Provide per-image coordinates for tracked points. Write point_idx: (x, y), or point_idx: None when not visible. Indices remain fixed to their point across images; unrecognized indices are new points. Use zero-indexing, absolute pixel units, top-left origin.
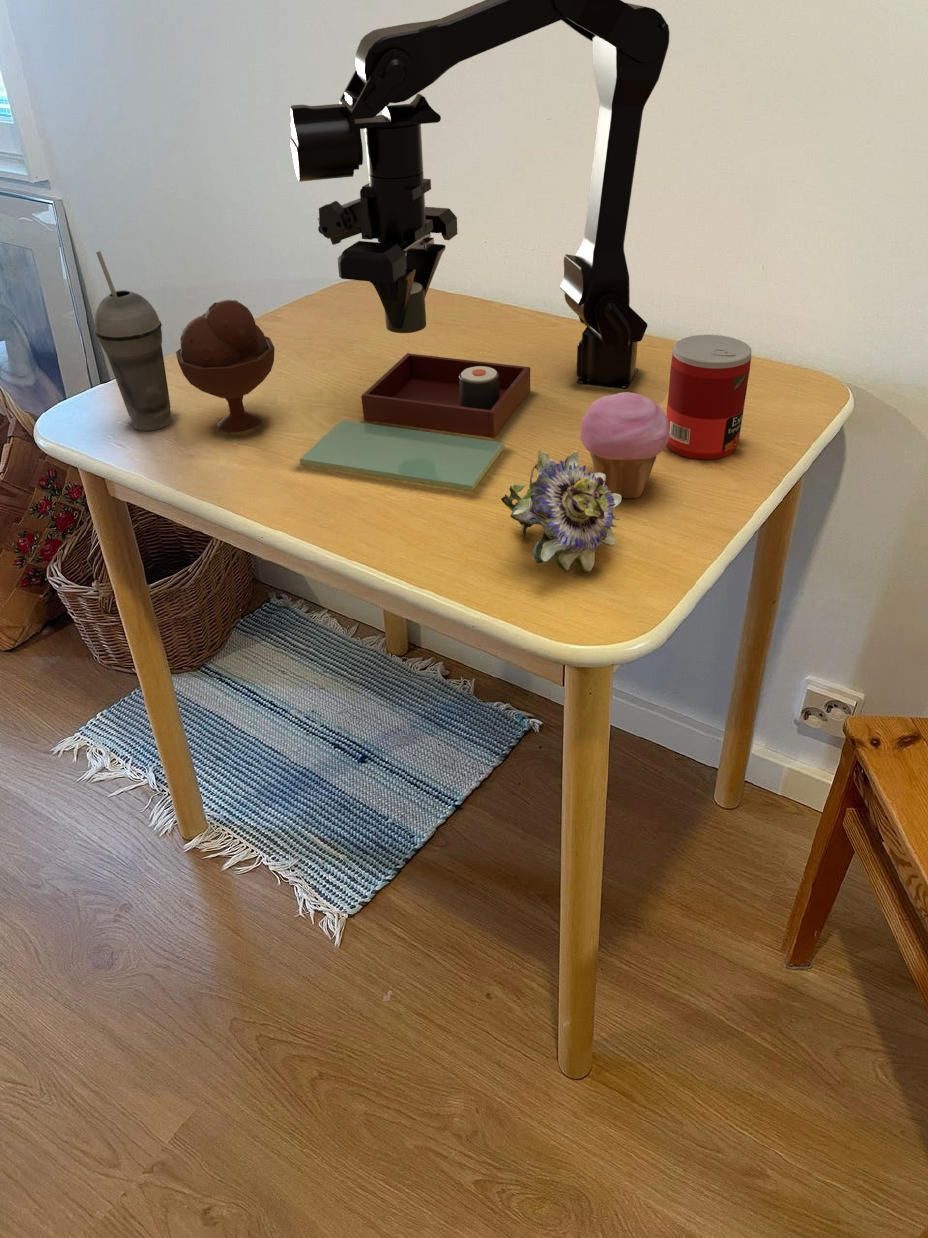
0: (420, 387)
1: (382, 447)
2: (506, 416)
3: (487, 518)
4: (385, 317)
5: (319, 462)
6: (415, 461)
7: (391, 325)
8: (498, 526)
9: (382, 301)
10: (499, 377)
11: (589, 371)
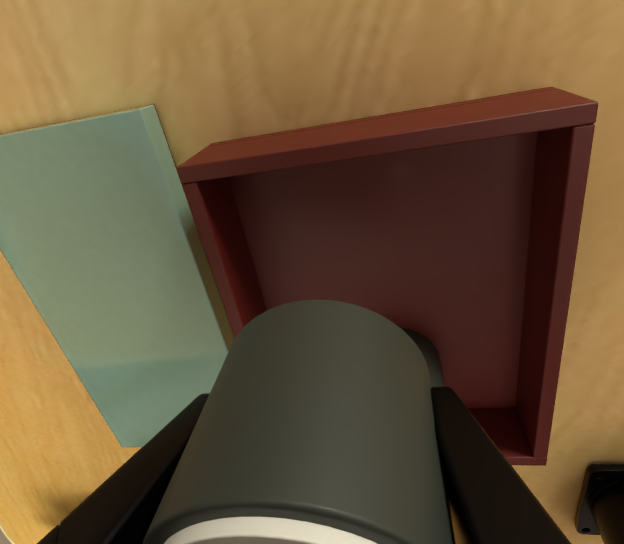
0: (467, 181)
1: (109, 285)
2: None
3: (103, 458)
4: (231, 361)
5: None
6: (114, 359)
7: (194, 400)
8: (99, 471)
9: (62, 529)
10: (527, 384)
11: (616, 507)
